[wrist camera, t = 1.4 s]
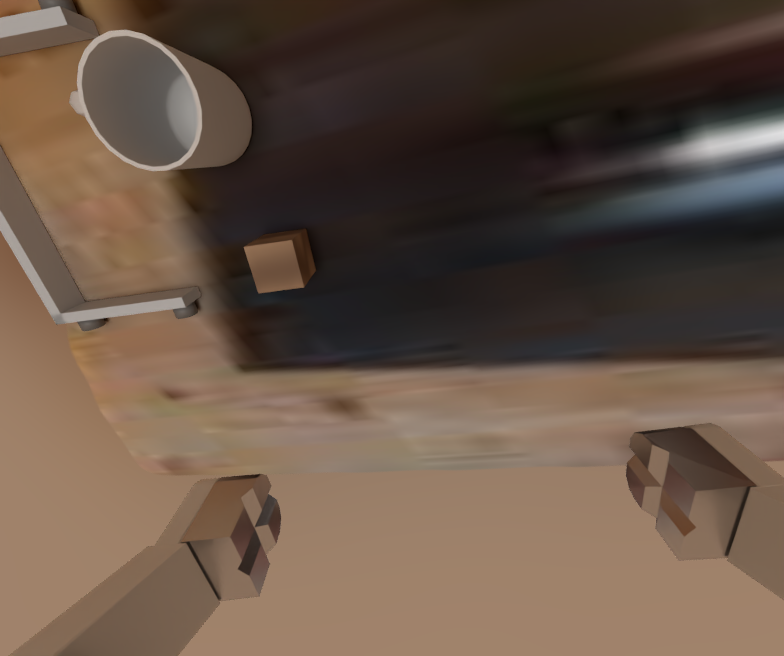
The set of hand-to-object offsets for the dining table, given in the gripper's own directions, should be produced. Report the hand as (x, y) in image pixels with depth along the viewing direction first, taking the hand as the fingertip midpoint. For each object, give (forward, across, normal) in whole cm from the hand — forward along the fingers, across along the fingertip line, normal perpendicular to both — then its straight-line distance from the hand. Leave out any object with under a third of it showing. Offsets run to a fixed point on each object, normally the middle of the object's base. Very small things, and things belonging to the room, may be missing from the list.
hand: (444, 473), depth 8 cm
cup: (+28, +16, -13) cm, 35 cm away
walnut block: (+28, +11, -1) cm, 30 cm away
